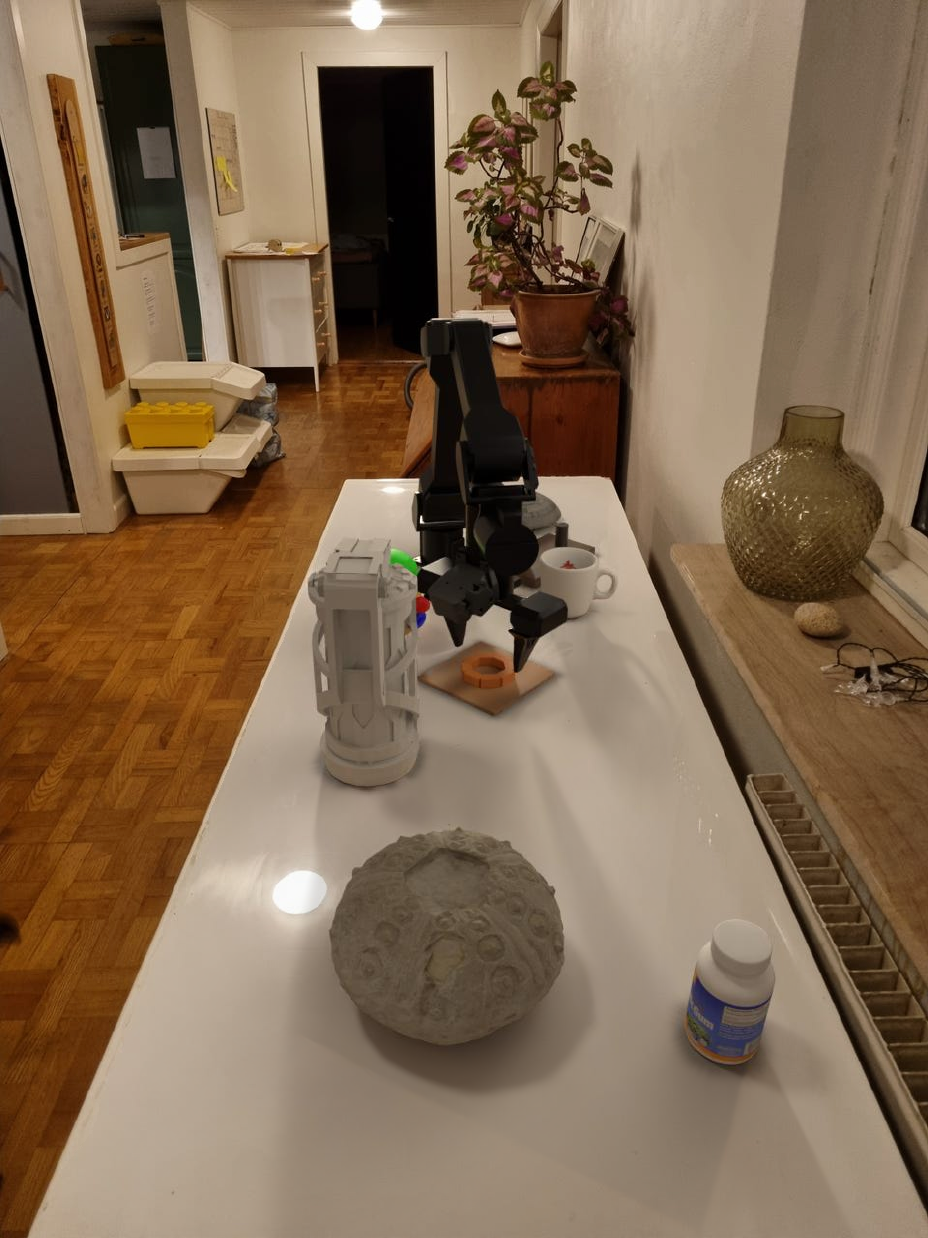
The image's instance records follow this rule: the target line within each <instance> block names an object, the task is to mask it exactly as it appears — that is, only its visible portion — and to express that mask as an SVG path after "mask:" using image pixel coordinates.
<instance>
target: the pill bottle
mask: <svg viewBox="0 0 928 1238" xmlns="http://www.w3.org/2000/svg"><path fill="white" fill-rule="evenodd" d="M772 955H773V943H772V940H771V938H770V936H769V935H768V933H767V932H766V931H765V930H764V929H763V928H761V927H759V926H758V925H757V924H755V923H753V922H750V921H748V920H744V919H739V918H736V919H735V918H734V919H727V920H724V921H722V922H720V923H719V924H717V926H715V928H714V930H713V933H712V937H711V940H710V941H709V942H707V943H705V944H704V945H703V946H702V947H701V949H700V951H699V952H698V956H697V958H696V961H695V968H694V972H693V976H692V983H691V987H690V992H689V997H688V1002H687V1008H686V1014H685V1019H684V1028H685V1034H686V1037H687V1039H688V1041H689V1043H690V1044H691V1046H692V1047H693V1048H694V1049H695V1050H696V1051H697V1052H698V1053H699V1054H700V1055H702V1056H703V1057H705V1058H706V1059H708V1060H710V1061H713V1062H715V1063H719V1064H724V1065H730V1066H731V1065H740V1064H743V1063H746V1062H748V1061H749V1060H750V1059H752V1058H753V1057H754V1056H755V1055H756V1053H757V1052H758V1049H759V1046H760V1043H761V1039H762V1035H763V1031H764V1027H765V1023H766V1021H767V1020H766V1019H767V1015H768V1013H769V1008H770V1004H771V1001H772V997H773V994H774V989H775V985H776V971H775V967H774V965H773V963H772Z"/></svg>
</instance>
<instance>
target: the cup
mask: <svg viewBox="0 0 928 1238" xmlns="http://www.w3.org/2000/svg"><path fill="white" fill-rule="evenodd" d="M602 576H608V577H610V580H611V584H610V586H609V588H608V589H607V590H606V591H602V590H600V589H598V586H597V584H598V581H599V579H600V578H601V577H602ZM540 577H541V585H540V591H541V592H544V593H547V594H550V595H552V596H555V597H558V598H561V599H563V600H564V601H565V602H566V603H567V606H568V617H567V619H574V618H578V617H581V616H583V615H585V614H586V613H587V612H588V611H589V609H590V606H591V603H592V602H593V601H595V600H608V599H610V598H612V597H613V596H614V595H615V593H616V591H617V590H618V589H617V588H618V584H619V583H618V582H619V581H618V575H617V573H616V570H615V569H613V568H611V567H609V566H606V565H601V564H600V563H599V558H598V557H597V556H596V554H595V555H594V554H593V553H591V552H589V551H586V550H583V549H579V548H571V547H560V548H553V549H550V550H547V551H545V552H544V553H543V554H542V555H541V556H540Z"/></svg>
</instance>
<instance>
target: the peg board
mask: <svg viewBox="0 0 928 1238" xmlns="http://www.w3.org/2000/svg"><path fill="white" fill-rule="evenodd" d="M554 532H555V533H551V532H547V533H546V534H544V535H541V536H540V537H537V540H538V543H539V553H538V557H537V559H536V561H535V563H534V564H533V565H532V566H531V567H530V568H529V569H528V570H527V571H525V572H523V573H521V574H519V575H515V576H517V577H520V578H521V585H523V586H526V587H530V588H532V589H537V588H539V587H541V577H540V556H541V555H542V554H543V553H544V552H545V551H547V550H550V549H553V548H560V547H571V548H579V549H583V550H586V551H589V552H591V553H593V554H594V555H595V556H596V547H595V546H592V545H590V544H587V543H582V542H580V541H577V540H574V539H571V538H570V539H569V523H567V522H561V521H560V522H557V523H556V524H555V531H554Z"/></svg>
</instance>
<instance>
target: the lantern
mask: <svg viewBox="0 0 928 1238" xmlns="http://www.w3.org/2000/svg"><path fill="white" fill-rule="evenodd" d="M391 540H392V539H391V538H374V539H360V538H359V537H343V538H342V539H341V540H340V541H339V543H337V545H336V546H335V547H334V550H333V552H332V553H330V554H329V555H328V557H327V560H326V562H325V566H324V567H322V568H320V569H319V570H318V572H317V571H314V572H312V573H310V575H309V577H308V579H307V594H308V599H309V600H310V601H311V602H312V604H313V605H314V606H315V613H316V617H317V621H316V623H315V625H314V628H313V631H312V635H311V636H312V637H311V639H312V640H311V645H312V646H311V648H312V662H313V672H314V686H315V700H316V711H317V713H319V714H320V715H321V716H324V717H326V721H325V723H324V731H323V732H322V734H321V735H320V738H319V748H320V752H321V756H322V760H323V763H324V765H325V767H326V769H327V771H328V773H329V774H330V775H332V777H333V778H335V779H336V780H339V782H341V783H344V784H348V785H351V786H355V787H368V788H369V787H376V786H384V785H387V784H391V783H394V782H396V781H398V780H400V779H401V778H403V777H404V776H406V775H408V774H409V773H410V771H411V770H412V768H413V767H414V766H415V763H416V760H417V757H418V753H419V751H420V742H421V739H420V738H421V737H420V733H419V730H418V719H419V718H420V699H419V698H418V646H419V628H418V627H417V623H416V594H417V576H415V575H414V574H412V573H411V572H410V571H409V570H408V569H405V568H403V566H402V565H401V564H398V563H394V565H393V564H390V558H391V549H392V547H391V546H392V545H391ZM405 620H406V622H407V623H408V625H409V627H410V630H411V632H410V634H411V640H410V644H409V647H408V648H407V639H406V635H405ZM323 637H324V654H325V655H324V656H325V658H324V657H323V654H322V652H321V649H320V644H321V642H322V639H323ZM407 671H408V672H407ZM322 675H323V676H325V677H326V682H327V689H326V690H323V681H322Z"/></svg>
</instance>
